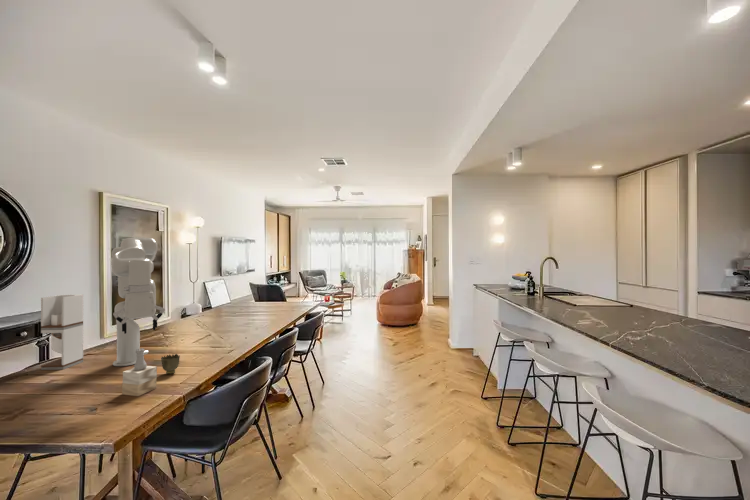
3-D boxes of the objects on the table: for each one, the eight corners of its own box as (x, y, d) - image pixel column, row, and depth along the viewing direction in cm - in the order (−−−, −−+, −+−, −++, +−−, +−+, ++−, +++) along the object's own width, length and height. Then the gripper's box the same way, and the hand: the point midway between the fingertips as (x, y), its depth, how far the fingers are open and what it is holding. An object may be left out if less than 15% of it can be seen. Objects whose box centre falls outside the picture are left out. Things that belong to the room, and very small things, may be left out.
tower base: (141, 386, 140) (141, 375, 141) (156, 388, 138) (156, 377, 138) (122, 394, 133) (122, 383, 133) (137, 396, 131) (137, 385, 131)
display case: (62, 362, 174) (62, 294, 174) (83, 361, 174) (83, 294, 174) (40, 369, 162) (41, 297, 163) (63, 369, 163) (63, 297, 163)
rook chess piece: (138, 367, 138) (138, 347, 138) (149, 366, 138) (149, 347, 138) (130, 370, 134) (130, 350, 134) (142, 370, 134) (141, 350, 134)
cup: (182, 373, 156) (182, 355, 156) (164, 377, 150) (163, 359, 150) (176, 369, 161) (176, 352, 161) (159, 373, 155) (159, 356, 156)
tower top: (141, 375, 140) (141, 365, 141) (156, 377, 138) (156, 366, 139) (122, 383, 133) (122, 371, 133) (138, 384, 131) (138, 373, 131)
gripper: (112, 291, 128) (112, 336, 128) (165, 288, 139) (165, 329, 138) (113, 290, 134) (113, 332, 134) (164, 287, 145) (164, 326, 144)
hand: (140, 331), depth 136 cm, fingers open, 9 cm apart
